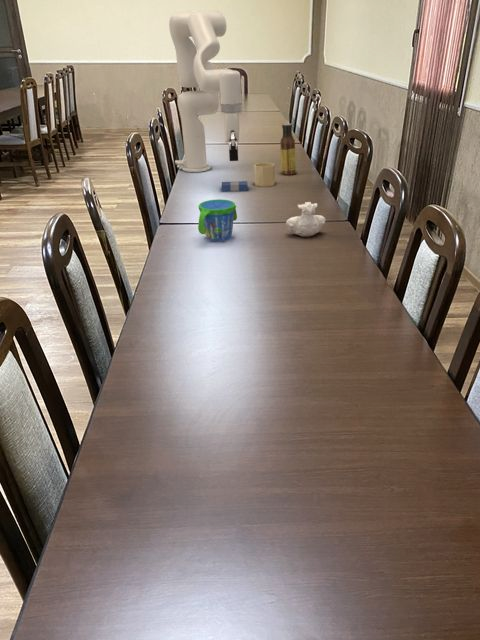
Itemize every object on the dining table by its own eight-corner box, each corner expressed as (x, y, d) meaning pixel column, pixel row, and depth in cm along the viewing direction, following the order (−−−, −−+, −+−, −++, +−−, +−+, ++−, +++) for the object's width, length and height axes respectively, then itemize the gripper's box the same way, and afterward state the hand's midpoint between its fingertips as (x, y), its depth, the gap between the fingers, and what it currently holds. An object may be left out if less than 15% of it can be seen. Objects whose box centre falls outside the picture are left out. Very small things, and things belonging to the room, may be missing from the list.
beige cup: (255, 186, 212) (254, 167, 208) (254, 182, 219) (253, 162, 215) (275, 186, 212) (275, 166, 208) (273, 181, 219) (273, 162, 215)
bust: (286, 243, 161) (292, 221, 150) (282, 222, 163) (287, 199, 153) (325, 240, 163) (333, 218, 152) (320, 219, 165) (328, 196, 155)
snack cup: (213, 249, 152) (210, 213, 146) (187, 241, 158) (184, 207, 152) (249, 234, 162) (248, 201, 157) (224, 228, 168) (222, 195, 163)
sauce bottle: (296, 172, 233) (296, 122, 223) (295, 175, 227) (295, 125, 217) (281, 172, 233) (280, 122, 223) (279, 175, 228) (279, 125, 218)
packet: (221, 191, 206) (221, 185, 205) (222, 188, 211) (221, 181, 210) (247, 190, 207) (247, 184, 205) (247, 187, 211) (247, 181, 210)
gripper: (221, 106, 202) (224, 154, 210) (220, 112, 187) (223, 163, 195) (241, 106, 202) (243, 154, 210) (242, 111, 187) (244, 162, 195)
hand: (233, 158), depth 203 cm, fingers open, 9 cm apart
